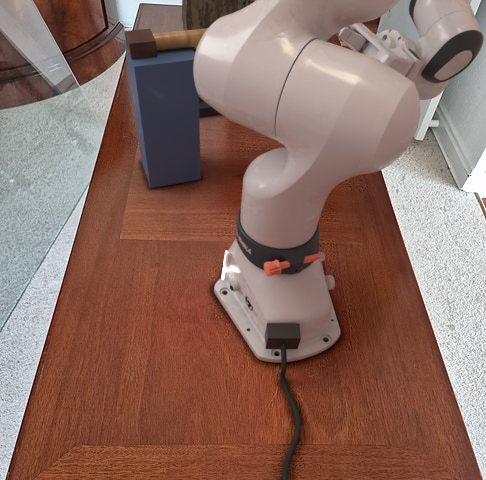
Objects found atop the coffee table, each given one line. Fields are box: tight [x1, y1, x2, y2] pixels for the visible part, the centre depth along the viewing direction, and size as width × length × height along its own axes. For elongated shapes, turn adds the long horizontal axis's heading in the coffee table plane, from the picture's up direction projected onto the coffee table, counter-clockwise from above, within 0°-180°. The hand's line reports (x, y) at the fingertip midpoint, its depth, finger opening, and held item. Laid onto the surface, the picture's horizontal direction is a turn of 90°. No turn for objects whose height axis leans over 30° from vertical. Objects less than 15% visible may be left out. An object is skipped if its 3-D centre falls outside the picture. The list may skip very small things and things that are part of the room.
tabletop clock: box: [181, 0, 243, 50], centre depth 109 cm, size 14×9×25 cm, turn 92°
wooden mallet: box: [123, 28, 208, 59], centre depth 72 cm, size 18×4×2 cm, turn 109°
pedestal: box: [123, 40, 202, 189], centre depth 82 cm, size 8×10×24 cm
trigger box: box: [199, 96, 221, 118], centre depth 105 cm, size 12×10×4 cm
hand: (338, 28), depth 80 cm, fingers closed
